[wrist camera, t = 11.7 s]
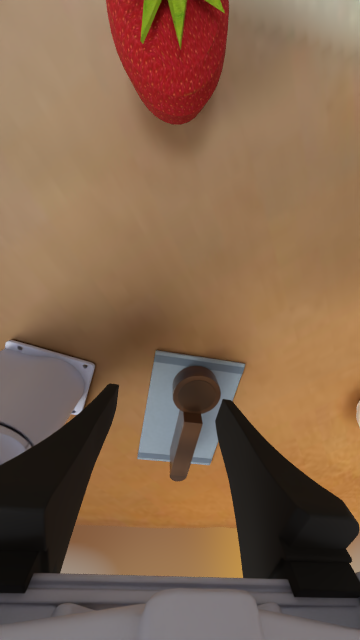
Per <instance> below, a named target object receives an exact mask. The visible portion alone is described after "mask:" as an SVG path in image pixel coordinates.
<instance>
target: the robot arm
mask: <svg viewBox="0 0 360 640" xmlns="http://www.w3.org/2000/svg"><path fill="white" fill-rule="evenodd" d="M20 346H21V347H22V348H23V349H22V348H21V347H20ZM85 365H87V366H85ZM94 369H95V365H94V364H93V363H92V362H88V361H85V360H81V359H78V358H74V357H71V356H67V355H64V354H60V353H57V352H53V351H50V350H46V349H43V348H39V347H36V346H32V345H28V344H25V343H21V342H18V341H14V340H9V341H7V342H6V344H5V349H4V350H2V351H0V640H360V572H357V573H354V571H353V569H352V567H351V565H350V564H349V563H351V562H352V559H351V557H350V555H349V554H348V552H347V550H346V548H347V547H348V546H349V544H350V543H351V542H352V541H353V540H354V539H355V538H356V536H357V535H358V533H359V524H358V522H357V521H356V519H355V518H354V516H353V515H352V514H351V512H350V511H349V509H348V508H347V506H346V505H345V504H344V502H343V501H342V500H341V499H340V498H338V497H337V496H335V495H334V494H332V493H331V492H329V491H328V490H326V489H325V488H323V487H322V486H320V485H319V484H317V483H316V482H315V481H313V480H312V479H311V478H309V477H308V476H307V475H305V474H304V473H303V472H301V471H300V470H299V469H298V468H296V467H295V466H294V465H293V464H292V463H290V462H289V461H288V460H287V459H286V458H285V457H283V456H282V455H281V454H280V453H279V452H278V451H277V450H276V449H275V448H274V447H273V446H272V445H270V444H269V443H268V442H267V441H266V440H265V438H264V437H263V436H262V435H261V434H260V433H259V432H258V431H257V430H256V429H255V428H254V427H253V425H252V424H251V423H250V422H249V421H248V420H247V418H246V417H245V416H244V415H243V414H242V412H241V411H240V410H239V409H238V408H237V406H236V405H235V404H234V403H233V402H232V401H231V400H227V399H223V400H222V403H221V405H220V408H219V411H218V414H217V417H216V420H215V424H216V431H217V437H218V441H219V445H220V449H221V452H222V456H223V460H224V463H225V467H226V471H227V475H228V479H229V483H230V489H231V494H232V500H233V506H234V512H235V518H236V525H237V532H238V539H239V546H240V553H241V562H242V571H243V578H213V577H176V576H175V577H174V576H135V575H98V574H60V571H61V568H62V565H63V561H64V558H65V555H66V552H67V548H68V544H69V541H70V538H71V535H72V532H73V529H74V526H75V522H76V519H77V516H78V513H79V510H80V507H81V504H82V501H83V497H84V494H85V491H86V488H87V485H88V482H89V479H90V476H91V473H92V470H93V467H94V465H95V462H96V460H97V457H98V455H99V453H100V450H101V448H102V446H103V443H104V441H105V439H106V436H107V434H108V431H109V429H110V427H111V424H112V421H113V418H114V414H115V411H116V406H117V397H118V389H119V385H117V384H108V385H107V386H106V387H105V388H104V390H103V391H102V392H101V393H100V394H99V395H98V396H97V397H96V398H95V399H94V400H93V401H92V402H91V403H90V404H89V405H88V406H87V407H86V408H84V405H85V402H86V398H87V394H88V391H89V387H90V384H91V380H92V376H93V373H94ZM74 410H75V411H74ZM71 414H74V415H76V416H75V417H74V418H73V419H72V420H70V421H69V422H68V423H67V424H65V422H66V421H67V419H68V418H69V416H70V415H71ZM64 424H65V425H64Z"/></svg>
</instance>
